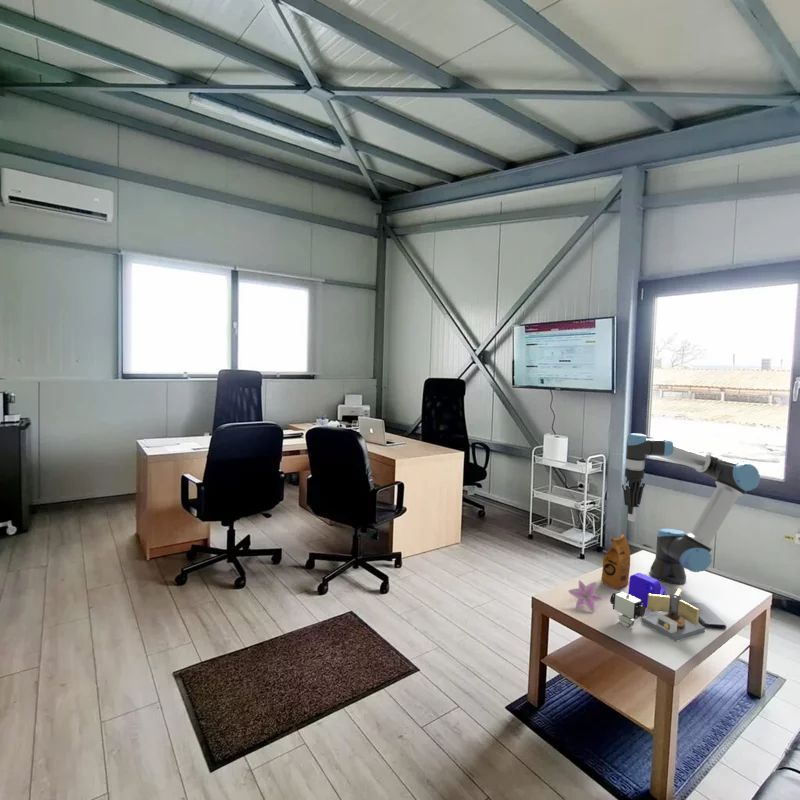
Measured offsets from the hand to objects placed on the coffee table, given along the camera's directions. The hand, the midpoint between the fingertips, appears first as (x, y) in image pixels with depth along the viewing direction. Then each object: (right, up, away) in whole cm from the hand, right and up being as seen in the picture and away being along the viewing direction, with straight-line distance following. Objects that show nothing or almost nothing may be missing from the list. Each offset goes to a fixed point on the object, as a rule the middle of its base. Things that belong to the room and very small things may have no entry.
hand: (631, 520), depth 211 cm
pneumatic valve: (-15, -33, -27) cm, 46 cm away
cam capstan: (0, -32, -28) cm, 42 cm away
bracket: (+5, -33, -7) cm, 34 cm away
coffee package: (-4, -31, +8) cm, 32 cm away
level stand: (+2, -34, -28) cm, 44 cm away
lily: (-26, -32, -14) cm, 44 cm away
